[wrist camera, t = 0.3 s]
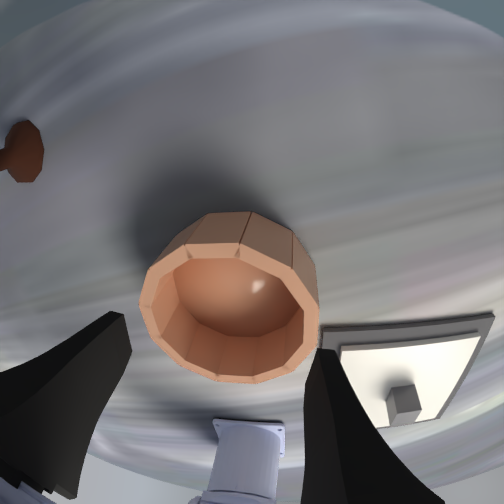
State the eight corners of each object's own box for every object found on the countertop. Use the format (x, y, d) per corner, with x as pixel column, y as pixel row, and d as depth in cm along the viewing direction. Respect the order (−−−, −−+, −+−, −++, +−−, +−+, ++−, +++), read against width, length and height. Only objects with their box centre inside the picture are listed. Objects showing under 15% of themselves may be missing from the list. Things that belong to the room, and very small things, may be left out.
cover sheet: (433, 414, 25) (440, 438, 22) (325, 426, 27) (326, 454, 24) (478, 332, 19) (493, 360, 16) (341, 345, 21) (346, 381, 18)
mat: (438, 415, 26) (439, 418, 26) (311, 429, 28) (311, 433, 28) (493, 313, 19) (495, 316, 18) (323, 327, 21) (323, 332, 21)
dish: (312, 339, 22) (313, 384, 18) (183, 335, 24) (166, 375, 20) (315, 209, 17) (321, 241, 13) (153, 216, 19) (120, 246, 15)
